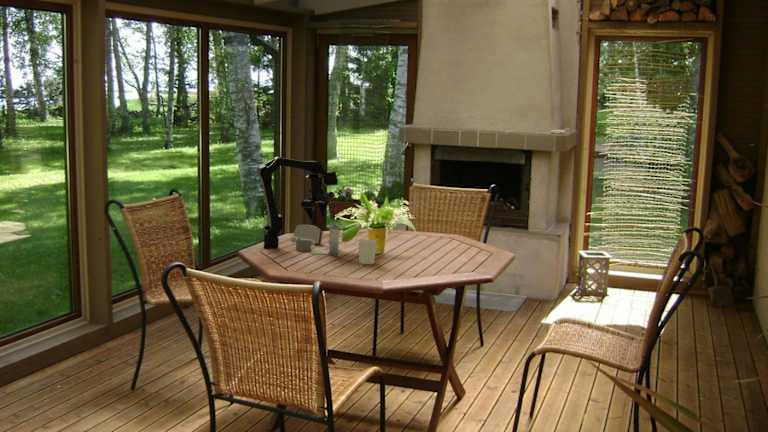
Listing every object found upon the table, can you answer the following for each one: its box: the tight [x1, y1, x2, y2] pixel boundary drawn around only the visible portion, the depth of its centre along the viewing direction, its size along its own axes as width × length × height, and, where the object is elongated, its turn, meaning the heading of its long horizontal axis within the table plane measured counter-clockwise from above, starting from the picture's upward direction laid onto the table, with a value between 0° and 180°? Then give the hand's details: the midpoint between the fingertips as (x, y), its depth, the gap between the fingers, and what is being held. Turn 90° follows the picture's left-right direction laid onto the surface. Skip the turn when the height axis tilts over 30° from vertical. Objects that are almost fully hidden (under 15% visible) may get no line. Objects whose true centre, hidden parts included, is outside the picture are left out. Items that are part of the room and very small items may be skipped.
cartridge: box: [328, 224, 341, 258], centre depth 382 cm, size 5×5×14 cm
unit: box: [295, 238, 312, 252], centre depth 393 cm, size 7×4×6 cm, turn 97°
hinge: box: [290, 223, 324, 247], centre depth 411 cm, size 17×5×10 cm, turn 54°
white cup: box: [358, 238, 377, 265], centre depth 370 cm, size 8×8×10 cm
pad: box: [310, 249, 329, 255], centre depth 388 cm, size 8×8×1 cm
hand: (317, 218), depth 402 cm, fingers open, 9 cm apart
